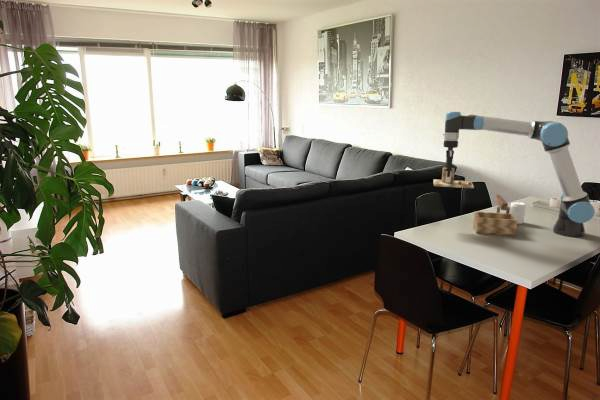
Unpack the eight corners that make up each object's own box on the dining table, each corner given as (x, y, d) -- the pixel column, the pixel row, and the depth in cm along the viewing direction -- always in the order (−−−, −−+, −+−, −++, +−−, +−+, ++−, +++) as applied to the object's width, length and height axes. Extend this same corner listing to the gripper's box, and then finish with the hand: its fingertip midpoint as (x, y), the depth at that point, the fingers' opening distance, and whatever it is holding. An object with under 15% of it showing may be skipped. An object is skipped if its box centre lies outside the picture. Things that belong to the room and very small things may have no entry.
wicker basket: (508, 226, 258) (510, 207, 255) (515, 236, 239) (517, 215, 236) (471, 223, 263) (473, 204, 260) (476, 233, 244) (478, 213, 241)
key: (500, 201, 274) (500, 194, 273) (507, 210, 252) (507, 203, 251) (494, 200, 275) (495, 194, 274) (501, 209, 253) (502, 203, 252)
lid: (470, 183, 252) (472, 167, 250) (473, 188, 239) (475, 171, 237) (433, 181, 257) (434, 165, 255) (434, 186, 244) (435, 169, 242)
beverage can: (509, 223, 263) (511, 204, 261) (508, 220, 271) (510, 201, 268) (524, 225, 261) (526, 205, 258) (522, 221, 268) (525, 202, 265)
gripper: (443, 138, 252) (439, 178, 258) (444, 141, 236) (441, 184, 241) (457, 138, 251) (453, 179, 256) (459, 141, 234) (455, 184, 239)
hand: (447, 181), depth 249 cm, fingers closed on lid, 4 cm apart
